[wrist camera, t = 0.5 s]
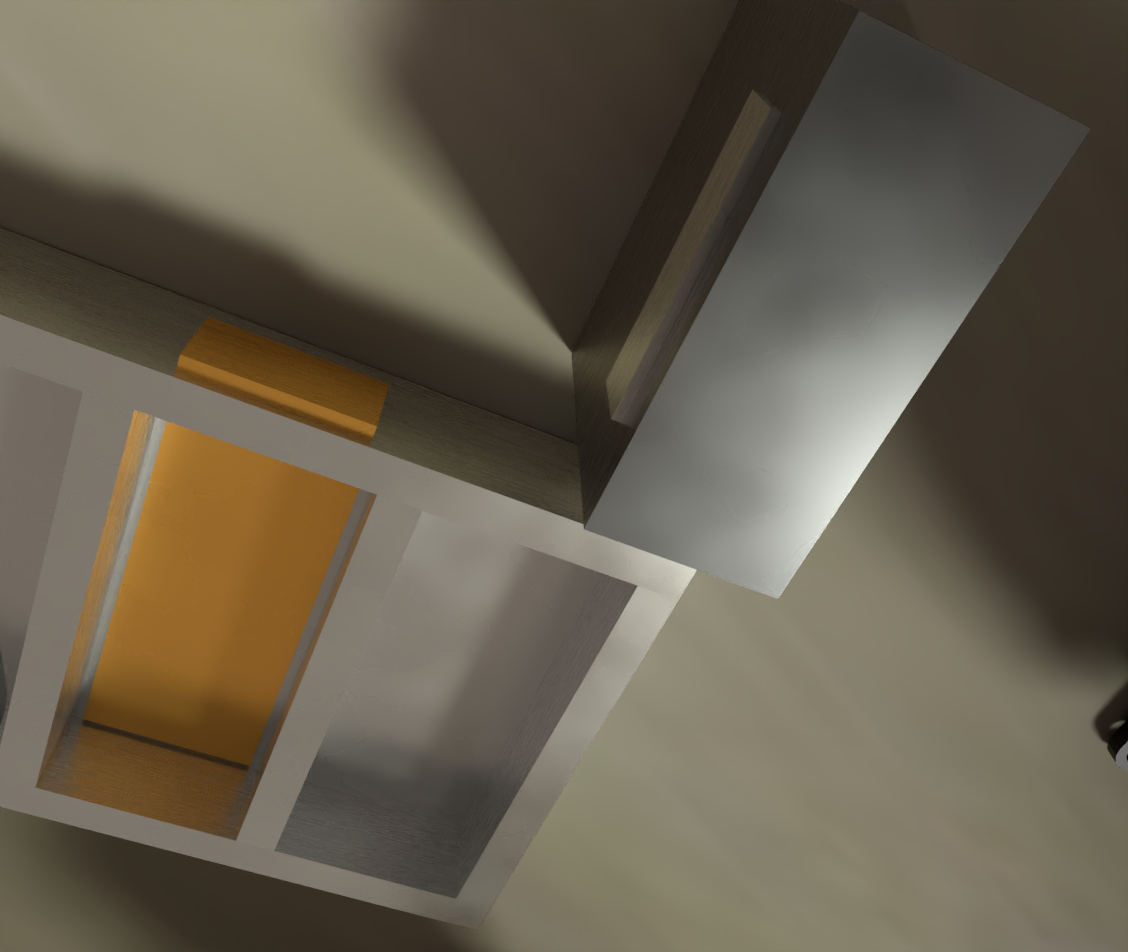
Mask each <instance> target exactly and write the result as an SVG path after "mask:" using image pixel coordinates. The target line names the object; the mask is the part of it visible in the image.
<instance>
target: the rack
mask: <svg viewBox="0 0 1128 952" xmlns="http://www.w3.org/2000/svg"><path fill="white" fill-rule="evenodd" d="M695 572H696V569H693V568H690V567H687V566H685V565H682V564H679V563H676V562H673V561H671V560H668V559H665V558H662V557H659V556H657V555H654V554H651V553H648V552H646V551H643V550H640V549H637V548H634V547H632V546H629V545H626V544H623V543H620V542H618V541H615V540H612V539H609V538H606V537H604V536H601V535H598V534H595V533H593V532H590V531H587V530H584V526H583V511H582V497H581V482H580V468H579V453H578V445H576V444H574V443H571V442H568V441H566V440H563V439H560V438H558V437H555V436H552V435H550V434H547V433H544V432H542V431H539V430H536V429H534V428H531V427H529V426H526V425H523V424H521V423H518V422H515V421H513V420H510V419H507V418H505V417H502V416H499V415H497V414H494V413H491V412H489V411H486V410H483V409H481V408H478V407H475V406H473V405H470V404H467V403H465V402H462V401H460V400H457V399H454V398H452V397H449V396H446V395H444V394H441V393H438V392H436V391H433V390H430V389H428V388H425V387H422V386H420V385H417V384H414V383H412V382H409V381H406V380H404V379H401V378H399V377H396V376H393V375H391V374H388V373H385V372H383V371H380V370H377V369H375V368H372V367H369V366H367V365H364V364H361V363H359V362H356V361H353V360H351V359H348V358H345V357H343V356H340V355H337V354H335V353H332V352H330V351H327V350H324V349H322V348H319V347H316V346H314V345H311V344H308V343H306V342H303V341H300V340H298V339H295V338H292V337H290V336H287V335H284V334H282V333H279V332H276V331H274V330H271V329H268V328H266V327H263V326H261V325H258V324H255V323H253V322H250V321H247V320H245V319H242V318H239V317H237V316H234V315H231V314H229V313H226V312H223V311H221V310H218V309H215V308H213V307H210V306H207V305H205V304H202V303H199V302H197V301H194V300H192V299H189V298H186V297H184V296H181V295H178V294H176V293H173V292H170V291H168V290H165V289H162V288H160V287H157V286H154V285H152V284H149V283H146V282H144V281H141V280H138V279H136V278H133V277H131V276H128V275H125V274H123V273H120V272H117V271H115V270H112V269H109V268H107V267H104V266H101V265H99V264H96V263H93V262H91V261H88V260H85V259H83V258H80V257H77V256H75V255H72V254H69V253H67V252H64V251H62V250H59V249H56V248H54V247H51V246H48V245H46V244H43V243H40V242H38V241H35V240H32V239H30V238H27V237H24V236H22V235H19V234H16V233H14V232H11V231H8V230H6V229H3V228H0V645H1V651H2V657H3V664H4V670H5V676H6V683H7V702H6V708H5V712H4V716H3V719H2V722H1V725H0V807H3V808H7V809H10V810H14V811H18V812H22V813H26V814H30V815H34V816H37V817H41V818H45V819H49V820H53V821H57V822H61V823H64V824H68V825H72V826H76V827H80V828H84V829H88V830H91V831H95V832H99V833H103V834H107V835H111V836H115V837H118V838H122V839H126V840H130V841H134V842H138V843H142V844H146V845H149V846H153V847H157V848H161V849H165V850H169V851H173V852H176V853H180V854H184V855H188V856H192V857H196V858H200V859H203V860H207V861H211V862H215V863H219V864H223V865H227V866H230V867H234V868H238V869H242V870H246V871H250V872H254V873H257V874H261V875H265V876H269V877H273V878H277V879H281V880H284V881H288V882H292V883H296V884H300V885H304V886H308V887H311V888H315V889H319V890H323V891H327V892H331V893H335V894H338V895H342V896H346V897H350V898H354V899H358V900H362V901H366V902H369V903H373V904H377V905H381V906H385V907H389V908H393V909H396V910H400V911H404V912H408V913H412V914H416V915H420V916H423V917H427V918H431V919H435V920H439V921H443V922H447V923H450V924H454V925H458V926H462V927H466V928H470V929H474V930H478V928H479V927H480V925H481V923H482V922H483V920H484V918H485V917H486V915H487V913H488V912H489V910H490V909H491V907H492V905H493V904H494V902H495V900H496V899H497V897H498V895H499V894H500V892H501V890H502V889H503V887H504V886H505V884H506V882H507V881H508V879H509V877H510V876H511V874H512V872H513V871H514V869H515V867H516V866H517V864H518V863H519V861H520V859H521V858H522V856H523V854H524V853H525V851H526V849H527V848H528V846H529V845H530V843H531V841H532V840H533V838H534V836H535V835H536V833H537V831H538V830H539V828H540V826H541V825H542V823H543V822H544V820H545V818H546V817H547V815H548V813H549V812H550V810H551V808H552V807H553V805H554V803H555V802H556V800H557V799H558V797H559V795H560V794H561V792H562V790H563V789H564V787H565V785H566V784H567V782H568V781H569V779H570V777H571V776H572V774H573V772H574V771H575V769H576V767H577V766H578V764H579V762H580V761H581V759H582V758H583V756H584V754H585V753H586V751H587V749H588V748H589V746H590V744H591V743H592V741H593V739H594V738H595V736H596V735H597V733H598V731H599V730H600V728H601V726H602V725H603V723H604V721H605V720H606V718H607V717H608V715H609V713H610V712H611V710H612V708H613V707H614V705H615V703H616V702H617V700H618V698H619V697H620V695H621V694H622V692H623V690H624V689H625V687H626V685H627V684H628V682H629V680H630V679H631V677H632V675H633V674H634V672H635V671H636V669H637V667H638V666H639V664H640V662H641V661H642V659H643V657H644V656H645V654H646V653H647V651H648V649H649V648H650V646H651V644H652V643H653V641H654V639H655V638H656V636H657V634H658V633H659V631H660V630H661V628H662V626H663V625H664V623H665V621H666V620H667V618H668V616H669V615H670V613H671V611H672V610H673V608H674V607H675V605H676V603H677V602H678V600H679V598H680V597H681V595H682V593H683V592H684V590H685V589H686V587H687V585H688V584H689V582H690V580H691V579H692V577H693V575H694V574H695Z"/></svg>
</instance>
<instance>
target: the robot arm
mask: <svg viewBox="0 0 1128 952" xmlns="http://www.w3.org/2000/svg"><path fill="white" fill-rule="evenodd" d="M6 702H7V683H6V676H5V670H4V664H3V657H2V651H1V645H0V725H1V722H2V719H3V716H4V712H5V708H6ZM1107 749H1108V751H1109V753H1110V755H1111V756H1112V758H1113V759H1114V761H1115V762H1116V764H1117V765H1118V767H1120V768H1122V769H1123V770H1126V771H1128V720H1127V721H1126V722H1125V723H1124V724H1123V725H1122V726H1121V727H1120V728H1119V729H1118V730H1117V731H1116V733H1115V734H1114V735H1113V736H1112V737H1111V739H1110V740H1109V742H1108V747H1107Z"/></svg>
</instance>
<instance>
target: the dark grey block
mask: <svg viewBox="0 0 1128 952" xmlns="http://www.w3.org/2000/svg"><path fill="white" fill-rule="evenodd" d="M1090 130H1091V128H1089V127H1087V126H1085V125H1083V124H1081V123H1079V122H1077V121H1075V120H1073V119H1071V118H1069V117H1067V116H1066V115H1064V114H1062V113H1060V112H1058V111H1056V110H1054V109H1052V108H1050V107H1048V106H1046V105H1044V104H1042V103H1040V102H1038V101H1036V100H1034V99H1032V98H1030V97H1028V96H1026V95H1024V94H1022V93H1020V92H1018V91H1017V90H1015V89H1013V88H1011V87H1009V86H1007V85H1005V84H1003V83H1001V82H999V81H997V80H995V79H993V78H991V77H989V76H987V75H985V74H983V73H981V72H979V71H977V70H975V69H973V68H971V67H969V66H967V65H966V64H964V63H962V62H960V61H958V60H956V59H954V58H952V57H950V56H948V55H946V54H944V53H942V52H940V51H938V50H936V49H934V48H932V47H930V46H928V45H926V44H924V43H922V42H920V41H918V40H917V39H915V38H913V37H911V36H909V35H907V34H905V33H903V32H901V31H899V30H897V29H895V28H893V27H891V26H889V25H887V24H885V23H883V22H881V21H879V20H877V19H875V18H873V17H871V16H869V15H867V14H866V13H864V12H862V11H860V10H857V9H855V8H853V7H851V6H848V5H846V4H844V3H842V2H839V1H837V0H740V1H739V3H738V5H737V7H736V9H735V11H734V13H733V15H732V17H731V19H730V22H729V24H728V26H727V28H726V30H725V32H724V34H723V36H722V38H721V40H720V42H719V45H718V47H717V49H716V51H715V53H714V55H713V57H712V59H711V61H710V63H709V66H708V68H707V70H706V72H705V74H704V76H703V78H702V80H701V82H700V84H699V86H698V89H697V91H696V93H695V95H694V97H693V99H692V101H691V103H690V105H689V107H688V109H687V112H686V114H685V116H684V118H683V120H682V122H681V124H680V126H679V128H678V130H677V133H676V135H675V137H674V139H673V141H672V143H671V145H670V147H669V149H668V151H667V153H666V156H665V158H664V160H663V162H662V164H661V166H660V168H659V170H658V172H657V174H656V176H655V179H654V181H653V183H652V185H651V187H650V189H649V191H648V193H647V195H646V197H645V200H644V202H643V204H642V206H641V208H640V210H639V212H638V214H637V216H636V218H635V220H634V223H633V225H632V227H631V229H630V231H629V233H628V235H627V237H626V239H625V241H624V243H623V246H622V248H621V250H620V252H619V254H618V256H617V258H616V260H615V262H614V264H613V266H612V269H611V271H610V273H609V275H608V277H607V279H606V281H605V283H604V285H603V287H602V290H601V292H600V294H599V296H598V298H597V300H596V302H595V304H594V306H593V308H592V310H591V313H590V315H589V317H588V319H587V321H586V323H585V325H584V327H583V329H582V331H581V333H580V336H579V338H578V340H577V342H576V344H575V346H574V348H573V350H572V367H573V381H574V396H575V410H576V425H577V439H578V453H579V468H580V482H581V497H582V511H583V526H584V530H587V531H590V532H593V533H595V534H598V535H601V536H604V537H606V538H609V539H612V540H615V541H618V542H620V543H623V544H626V545H629V546H632V547H634V548H637V549H640V550H643V551H646V552H648V553H651V554H654V555H657V556H659V557H662V558H665V559H668V560H671V561H673V562H676V563H679V564H682V565H685V566H687V567H690V568H693V569H696V570H699V571H701V572H704V573H707V574H710V575H712V576H715V577H718V578H721V579H724V580H726V581H729V582H732V583H735V584H738V585H740V586H743V587H746V588H749V589H752V590H754V591H757V592H760V593H763V594H765V595H768V596H771V597H774V598H777V599H778V598H779V597H780V595H781V594H782V592H783V591H784V589H785V588H786V586H787V585H788V583H789V582H790V580H791V579H792V577H793V576H794V574H795V573H796V571H797V570H798V568H799V567H800V565H801V564H802V562H803V561H804V559H805V558H806V556H807V555H808V553H809V552H810V550H811V549H812V547H813V546H814V544H815V543H816V541H817V540H818V538H819V537H820V535H821V534H822V532H823V531H824V529H825V528H826V526H827V525H828V523H829V522H830V520H831V519H832V517H833V516H834V514H835V513H836V511H837V510H838V508H839V507H840V505H841V503H842V502H843V500H844V499H845V497H846V496H847V494H848V493H849V491H850V490H851V488H852V487H853V485H854V484H855V482H856V481H857V479H858V478H859V476H860V475H861V473H862V472H863V470H864V469H865V467H866V466H867V464H868V463H869V461H870V460H871V458H872V457H873V455H874V454H875V452H876V451H877V449H878V448H879V446H880V445H881V443H882V442H883V440H884V439H885V437H886V436H887V434H888V433H889V431H890V430H891V428H892V427H893V425H894V424H895V422H896V421H897V419H898V418H899V416H900V415H901V413H902V412H903V410H904V409H905V407H906V406H907V404H908V403H909V401H910V400H911V398H912V397H913V395H914V394H915V392H916V391H917V389H918V388H919V386H920V385H921V383H922V382H923V380H924V379H925V377H926V376H927V374H928V373H929V371H930V370H931V368H932V367H933V365H934V364H935V362H936V361H937V359H938V358H939V356H940V355H941V353H942V352H943V350H944V349H945V347H946V346H947V344H948V343H949V341H950V340H951V338H952V337H953V335H954V334H955V332H956V331H957V329H958V328H959V326H960V325H961V323H962V322H963V320H964V319H965V317H966V316H967V314H968V313H969V311H970V310H971V308H972V307H973V305H974V304H975V302H976V301H977V299H978V298H979V296H980V295H981V293H982V292H983V290H984V289H985V287H986V286H987V284H988V283H989V281H990V280H991V278H992V277H993V275H994V274H995V272H996V271H997V269H998V268H999V266H1000V265H1001V263H1002V262H1003V260H1004V259H1005V257H1006V256H1007V254H1008V253H1009V251H1010V250H1011V248H1012V247H1013V245H1014V244H1015V242H1016V241H1017V239H1018V238H1019V236H1020V235H1021V233H1022V232H1023V230H1024V229H1025V227H1026V226H1027V224H1028V223H1029V221H1030V220H1031V218H1032V217H1033V215H1034V214H1035V212H1036V211H1037V209H1038V208H1039V206H1040V205H1041V203H1042V202H1043V200H1044V199H1045V197H1046V196H1047V194H1048V193H1049V191H1050V190H1051V188H1052V187H1053V185H1054V184H1055V182H1056V181H1057V179H1058V178H1059V176H1060V175H1061V173H1062V172H1063V170H1064V169H1065V167H1066V166H1067V164H1068V163H1069V161H1070V160H1071V158H1072V157H1073V155H1074V154H1075V152H1076V151H1077V149H1078V148H1079V146H1080V145H1081V143H1082V142H1083V140H1084V139H1085V137H1086V136H1087V134H1088V133H1089V131H1090Z"/></svg>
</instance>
